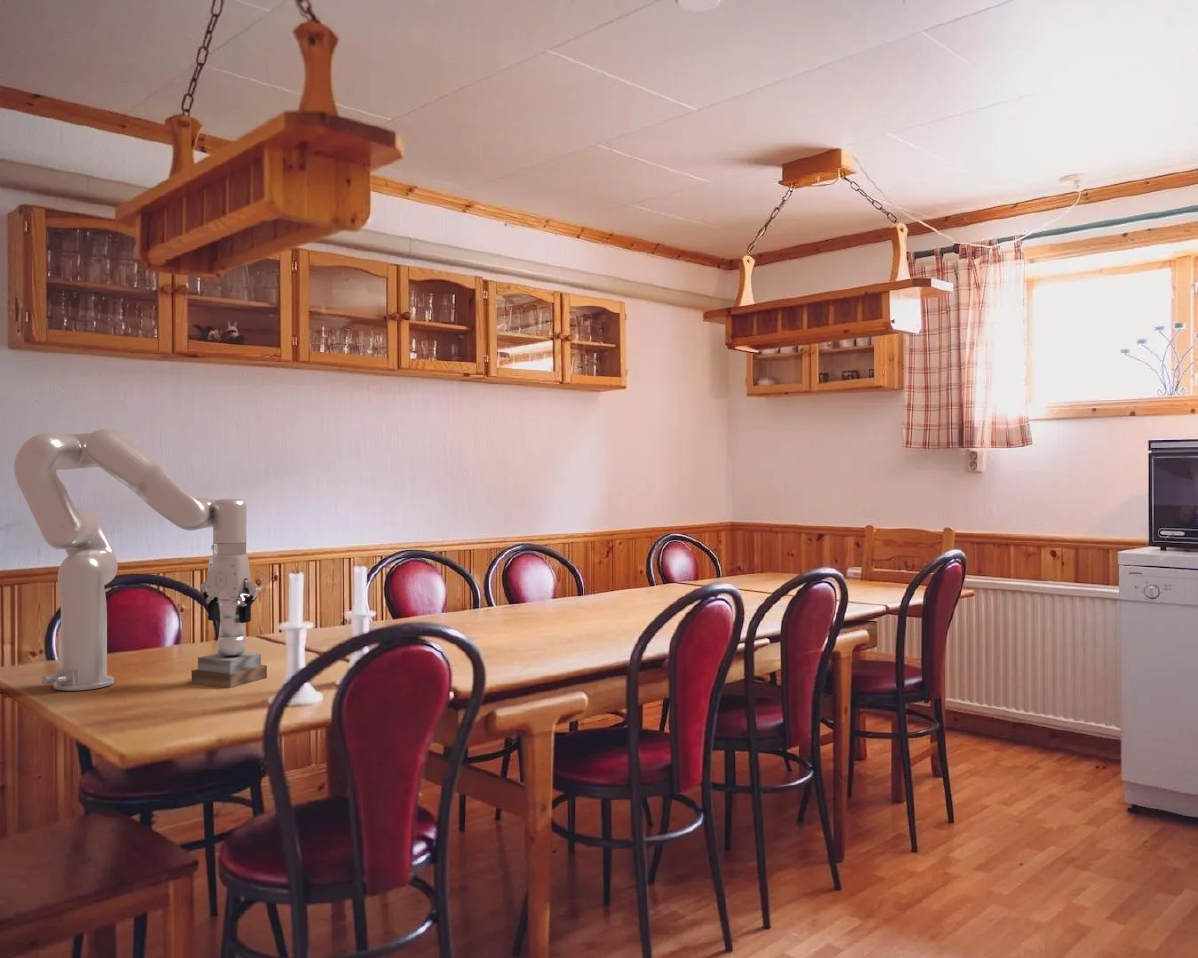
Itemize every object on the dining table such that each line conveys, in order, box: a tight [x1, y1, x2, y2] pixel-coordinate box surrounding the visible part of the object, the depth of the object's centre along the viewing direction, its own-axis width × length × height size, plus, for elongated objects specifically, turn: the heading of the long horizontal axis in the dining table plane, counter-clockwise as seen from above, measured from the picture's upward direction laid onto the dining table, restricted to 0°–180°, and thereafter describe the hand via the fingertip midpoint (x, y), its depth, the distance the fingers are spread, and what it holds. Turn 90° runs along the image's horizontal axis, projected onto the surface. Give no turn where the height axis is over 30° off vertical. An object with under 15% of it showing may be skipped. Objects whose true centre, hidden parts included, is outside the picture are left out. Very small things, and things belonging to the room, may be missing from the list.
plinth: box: [191, 651, 268, 689], centre depth 232 cm, size 12×12×6 cm
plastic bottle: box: [216, 590, 247, 657], centre depth 231 cm, size 6×7×20 cm
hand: (229, 620), depth 232 cm, fingers open, 9 cm apart
